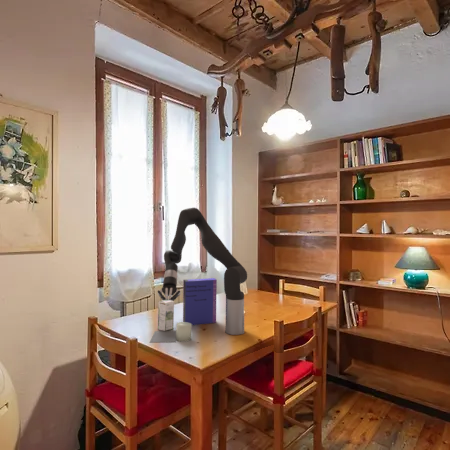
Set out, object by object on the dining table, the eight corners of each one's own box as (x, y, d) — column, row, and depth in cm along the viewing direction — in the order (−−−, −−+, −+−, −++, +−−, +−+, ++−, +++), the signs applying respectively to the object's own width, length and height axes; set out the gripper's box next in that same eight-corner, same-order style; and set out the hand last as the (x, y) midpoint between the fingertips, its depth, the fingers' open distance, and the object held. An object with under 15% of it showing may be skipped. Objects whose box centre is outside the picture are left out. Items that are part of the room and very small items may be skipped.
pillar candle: (190, 336, 165) (191, 322, 165) (190, 341, 158) (191, 326, 158) (176, 335, 165) (177, 321, 165) (175, 341, 158) (176, 326, 158)
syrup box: (166, 327, 179) (166, 299, 180) (173, 329, 175) (174, 300, 176) (157, 329, 175) (158, 300, 175) (165, 331, 171) (165, 302, 172)
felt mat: (178, 331, 172) (178, 331, 172) (176, 342, 157) (176, 342, 157) (154, 332, 171) (154, 331, 171) (149, 342, 156) (149, 342, 156)
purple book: (213, 320, 192) (213, 277, 192) (216, 322, 188) (216, 279, 187) (182, 323, 186) (183, 279, 185) (185, 326, 182) (185, 281, 181)
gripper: (157, 275, 191) (154, 303, 179) (181, 275, 191) (179, 303, 179) (159, 283, 196) (155, 310, 184) (182, 283, 197) (180, 310, 185)
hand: (167, 306), depth 182 cm, fingers closed
